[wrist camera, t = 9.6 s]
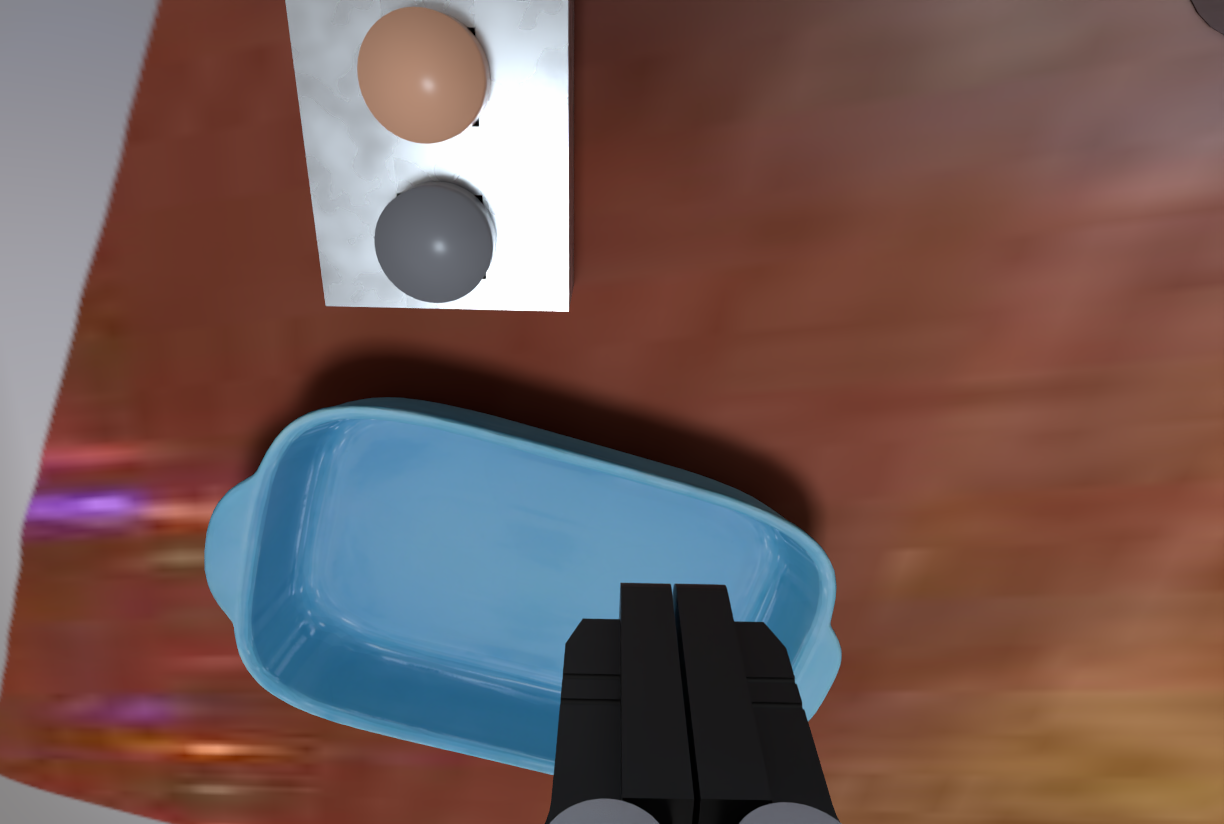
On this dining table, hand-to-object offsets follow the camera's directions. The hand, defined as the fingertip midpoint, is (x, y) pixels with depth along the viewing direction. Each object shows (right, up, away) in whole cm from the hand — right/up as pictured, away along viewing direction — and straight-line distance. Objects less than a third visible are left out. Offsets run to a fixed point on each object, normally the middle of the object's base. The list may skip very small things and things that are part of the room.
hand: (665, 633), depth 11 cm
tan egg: (-9, +20, +26) cm, 34 cm away
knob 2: (-9, +13, +29) cm, 33 cm away
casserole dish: (-5, -6, +39) cm, 40 cm away
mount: (-9, +20, +27) cm, 35 cm away
